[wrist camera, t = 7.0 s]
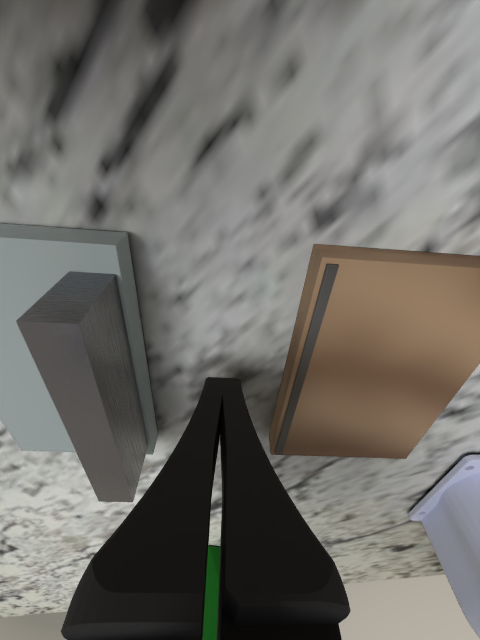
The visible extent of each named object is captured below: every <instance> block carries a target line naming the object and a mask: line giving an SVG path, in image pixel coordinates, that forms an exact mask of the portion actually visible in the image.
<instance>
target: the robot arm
mask: <svg viewBox="0 0 480 640" xmlns="http://www.w3.org/2000/svg"><path fill="white" fill-rule="evenodd" d="M219 438H220V445H221V470H222V521H221V546H220V570H219V594H218V617H217V639H216V640H341V634H340V629H339V625H338V623H340V622H341V621H342V620H344V619H345V618H346V617H347V616H348V615H349V613H350V607H349V602H348V598H347V595H346V591H345V588H344V585H343V583H342V580H341V577H340V575H339V572H338V570H337V568H336V565H335V563H334V561H333V559H332V558H331V557H330V555H329V554H328V553H327V551H326V550H325V549H324V547H323V546H322V545H321V543H320V542H319V540H318V539H317V538H316V536H315V535H314V533H313V532H312V531H311V529H310V528H309V526H308V525H307V523H306V522H305V520H304V519H303V517H302V516H301V514H300V513H299V511H298V510H297V508H296V506H295V505H294V503H293V502H292V500H291V498H290V497H289V495H288V493H287V492H286V490H285V489H284V487H283V485H282V484H281V482H280V480H279V478H278V476H277V475H276V473H275V471H274V469H273V467H272V465H271V463H270V461H269V459H268V457H267V455H266V453H265V451H264V449H263V447H262V445H261V442H260V440H259V438H258V436H257V433H256V431H255V428H254V426H253V423H252V421H251V418H250V415H249V412H248V409H247V406H246V403H245V400H244V396H243V392H242V387H241V381H240V380H239V379H237V378H214V377H208V378H207V379H206V380H205V385H204V388H203V391H202V394H201V397H200V399H199V402H198V404H197V407H196V409H195V411H194V413H193V415H192V417H191V420H190V422H189V424H188V426H187V428H186V429H185V431H184V433H183V435H182V437H181V439H180V441H179V442H178V444H177V446H176V448H175V449H174V451H173V453H172V454H171V456H170V457H169V459H168V461H167V462H166V464H165V465H164V467H163V468H162V470H161V471H160V473H159V474H158V476H157V477H156V479H155V480H154V482H153V483H152V484H151V486H150V487H149V489H148V490H147V491H146V493H145V494H144V496H143V497H142V498H141V499H140V501H139V502H138V503H137V505H136V506H135V507H134V508H133V510H132V511H131V512H130V514H129V515H128V516H127V518H126V519H125V520H124V521H123V523H122V524H121V525H120V526H119V527H118V529H117V530H116V531H115V532H114V533H113V534H112V536H111V537H110V538H109V539H108V540H107V541H106V543H105V544H104V545H103V546H102V547H101V548H100V550H99V551H98V552H97V553H96V554H95V555H94V557H93V558H92V560H91V561H90V563H89V565H88V567H87V569H86V570H85V572H84V574H83V576H82V578H81V580H80V582H79V584H78V586H77V589H76V591H75V593H74V595H73V598H72V600H71V603H70V606H69V609H68V612H67V615H66V618H65V621H64V624H63V627H62V630H61V632H62V635H63V637H64V638H66V639H67V640H202V639H203V624H204V608H205V591H206V575H207V558H208V542H209V526H210V510H211V497H212V488H213V480H214V473H215V466H216V459H217V452H218V445H219ZM408 516H409V518H410V520H412V521H421V522H422V524H423V527H424V529H425V531H426V533H427V535H428V538H429V540H430V542H431V544H432V546H433V548H434V551H435V553H436V555H437V557H438V559H439V561H440V564H441V566H442V568H443V570H444V572H445V575H446V577H447V579H448V581H449V583H450V585H451V588H452V590H453V592H454V594H455V596H456V598H457V601H458V603H459V605H460V607H461V609H462V611H463V613H464V615H465V617H466V619H467V621H468V622H469V624H470V626H471V627H472V629H473V630H474V631H475V633H476V634H477V636H478V637H479V638H480V455H468V456H465V457H464V458H463V459H462V460H461V461H460V462H459V463H458V464H457V465H456V466H455V467H454V468H453V469H452V470H451V471H450V472H449V473H448V474H447V475H446V476H445V477H444V478H443V479H442V480H441V481H440V482H439V483H438V484H437V485H436V486H435V487H434V488H433V489H432V490H431V491H430V492H429V493H428V494H427V495H426V496H425V497H424V498H423V499H422V500H421V501H420V502H419V503H418V504H417V505H416V506H415V507H414V508H413V509H412V510H411V511H410V512H409V513H408Z"/></svg>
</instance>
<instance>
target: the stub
mask: <svg viewBox="0 0 480 640" xmlns="http://www.w3.org/2000/svg"><path fill="white" fill-rule="evenodd" d="M0 419H1V421H2V422H3V424H4V425H5V427H6V428H7V430H8V431H9V433H10V434H11V436H12V437H13V439H14V440H15V442H16V443H17V445H18V446H19V448H20V449H21V451H51V452H77V455H78V457H79V459H80V461H81V463H82V465H83V468H84V470H85V472H86V474H87V476H88V478H89V481H90V483H91V485H92V487H93V489H94V491H95V494H96V496H97V498H98V500H99V501H107V502H133V500H134V496H135V493H136V489H137V485H138V481H139V478H140V474H141V470H142V466H143V463H144V459H145V455H146V454H153V453H154V448H155V444H156V440H157V436H158V433H157V426H156V419H155V413H154V406H153V399H152V393H151V386H150V379H149V373H148V366H147V360H146V353H145V346H144V340H143V333H142V326H141V320H140V313H139V306H138V300H137V293H136V287H135V280H134V273H133V267H132V260H131V253H130V247H129V240H128V233H127V232H113V231H99V230H85V229H71V228H57V227H43V226H29V225H16V224H2V223H0Z"/></svg>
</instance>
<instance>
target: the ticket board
mask: <svg viewBox="0 0 480 640" xmlns="http://www.w3.org/2000/svg"><path fill="white" fill-rule="evenodd" d="M479 363H480V256H472V255H458V254H444V253H430V252H417V251H403V250H389V249H375V248H361V247H348V246H334V245H320V244H314V246H313V250H312V255H311V259H310V263H309V267H308V272H307V276H306V280H305V284H304V289H303V293H302V297H301V301H300V305H299V310H298V314H297V318H296V322H295V327H294V331H293V335H292V339H291V344H290V348H289V352H288V356H287V361H286V365H285V369H284V373H283V378H282V382H281V386H280V390H279V394H278V399H277V403H276V407H275V411H274V416H273V420H272V424H271V428H270V433H269V442H270V451H271V455H304V456H337V457H371V458H404V459H406V458H407V456H408V455H409V454H410V452H411V451H412V450H413V449H414V447H415V446H416V445H417V443H418V442H419V441H420V440H421V438H422V437H423V436H424V434H425V433H426V432H427V431H428V429H429V428H430V427H431V425H432V424H433V423H434V421H435V420H436V419H437V418H438V416H439V415H440V414H441V412H442V411H443V410H444V409H445V407H446V406H447V405H448V403H449V402H450V401H451V400H452V398H453V397H454V396H455V394H456V393H457V392H458V391H459V389H460V388H461V387H462V385H463V384H464V383H465V382H466V380H467V379H468V378H469V376H470V375H471V374H472V373H473V371H474V370H475V369H476V367H477V366H478V365H479Z"/></svg>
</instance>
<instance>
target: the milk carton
mask: <svg viewBox="0 0 480 640" xmlns="http://www.w3.org/2000/svg"><path fill="white" fill-rule="evenodd" d="M219 570H220V547H216V546H208V558H207V575H206V591H205V608H204V624H203V639H202V640H216V639H217V617H218V594H219Z"/></svg>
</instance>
